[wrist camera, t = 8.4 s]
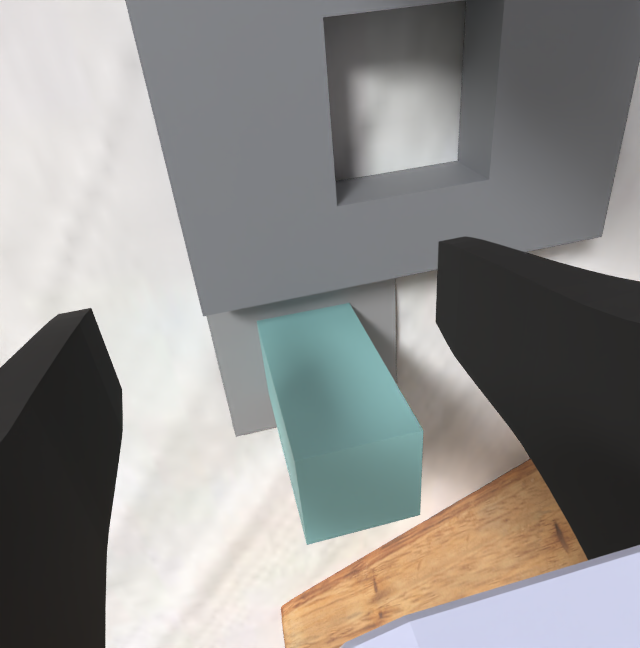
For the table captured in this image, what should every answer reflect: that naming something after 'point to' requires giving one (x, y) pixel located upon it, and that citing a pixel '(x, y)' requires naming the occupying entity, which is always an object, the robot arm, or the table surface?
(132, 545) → the table surface
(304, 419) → the teal block
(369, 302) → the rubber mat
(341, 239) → the pocket board
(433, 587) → the wooden box
